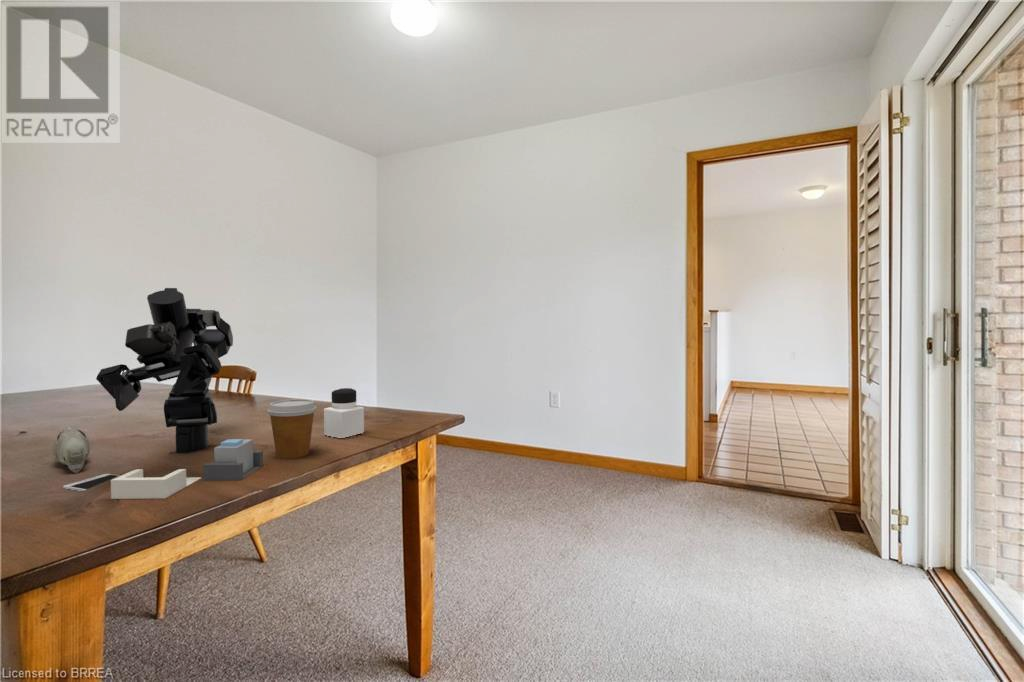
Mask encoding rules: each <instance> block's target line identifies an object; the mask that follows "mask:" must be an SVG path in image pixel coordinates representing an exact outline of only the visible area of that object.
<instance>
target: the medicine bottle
mask: <svg viewBox="0 0 1024 682" xmlns="http://www.w3.org/2000/svg"><path fill="white" fill-rule="evenodd" d="M363 432H364V433H365V408H364V407H363V406H358V405H357V391H356V389H354V388H350V387H347V388H346V387H344V388H343V387H342V388H336V389H334V390H332V391H331V406H330V407H326V408H325V407H324V409H323V434H324V436H325V435H327V436H326V437H328V436H331V437H330V438H333V437H337V438H345V437H349V436H352V435H356V434H360V433H363ZM337 438H336V439H337Z"/></svg>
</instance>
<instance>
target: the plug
mask: <svg viewBox="0 0 1024 682" xmlns="http://www.w3.org/2000/svg"><path fill="white" fill-rule="evenodd" d="M213 450H214V463H243V473H245V472H246V471H248V470H250V469H251V468H253V451H254V439H246V438H245V439H242V438H239V439H238V438H235V439H233V438H227V439H226V440H224V441H221V442H220V445H218V446H216V447H214V448H213Z"/></svg>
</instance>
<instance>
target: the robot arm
mask: <svg viewBox="0 0 1024 682" xmlns="http://www.w3.org/2000/svg"><path fill="white" fill-rule="evenodd" d="M146 299H147V304H148V307H149V311H150V315H151V318H152V322H153V324H151V323H150V324H144V325H140V326H136V327H132V328H129V329H127V330H126V335H125V336H126V337H125V344H124V346H125V347H126V348H128V349H130V350H132V352H134V353H135V354H137V358H136V360H137V361H138V362H139V364H140V365H141V364H143V366H140V367H136V368H131V369H130V368H129V367H128V366H127V364H121V363H120V364H117V365H112V366H109V367H105V368H101V369H100V371H99V372H98V373H97V376H96V378H95V380H96V381H97V382H98V383H99V384H100V385H101V386H102V387H103V388H104V389H105V390H106V391H107V393H108V394H109V395H110V396H111V398H113V399H114V402H115V403H114V404H115V408H116V409H117V410H118V412H122V411H123V410H125V409H126V408H128V406H129V405H131V404H132V403H133V402H134V401H135V400H136V399H137V398H139V396H140V392H141V391H142V385H141V384H142V383H141V381H144V380H147V379H151V378H153V379H155V380H156V381H157V382H158V383H160V382H164V381H167V380H171V379H175V378H176V381H175V383H173V385H172V387H171V390H170V392H168V397H167V399H165V400H164V403H163V413H164V420H165V425H166V426H165V427H166V428H171V427H172V428H173V427H175V436H174V437H175V439H174V440H175V449H174V450H172V451H169V452H168V455H171V454H173V453H176V454H189V453H193V452H196V451H201V450H205V449H207V448H208V446H209V430H208V429H209V428H208V427H209V426H211V425H212V424H218V413H217V409H216V405H215V403H214V401H213V398H212V397H211V394H210V389H209V387H210V384H211V381H212V378H213V376H214V375H219V373H220V371H221V367H222V364H221V360H220V358H223V357H224V356H226V355H227V354H228V353H229V351H230V349H231V347H233V345H234V344H233V343H234V339H233V338H234V336H233V335H234V334H233V332H232V327H231V325H230V324H229V323H228V322H226V321H225V320H224V319H223V318H222V317H221V315H220V312H219V311H218V310H215V309H214V310H213V309H201V308H187V306H186V301H185V300H186V299H185V296H184V293H182V292H180V291H179V290H178V288H176V287H165V288H164V290H158V291H154V292H153V293H151V294H148V295H147V297H146ZM209 327H215V328H209Z"/></svg>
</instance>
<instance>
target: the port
mask: <svg viewBox="0 0 1024 682" xmlns="http://www.w3.org/2000/svg"><path fill="white" fill-rule="evenodd" d="M201 479H203V476H202V477H197V476H196V477H187V468H178V469H176V470H174V471H172V472H171V473H168V474H166V475H164V476H162V477H157V476H156V477H144V469H143V468H142V469H138V468H136V469H134V470H131V471H128V472H126V473H124V474H122V475H120V476H117V477H115V478H112V479H110V497H111V498H110V499H112V500H118V499H119V500H122V499H126V500H127V499H129V500H130V499H137V500H139V499H144V500H145V499H166V498H168V497H170V496H172V495H174V494H176V493H177V492H179V491H181V490H183V489H185V488H186V487H188V486H190V485H191V484H193V483H196V482H197V481H199V480H201Z"/></svg>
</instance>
